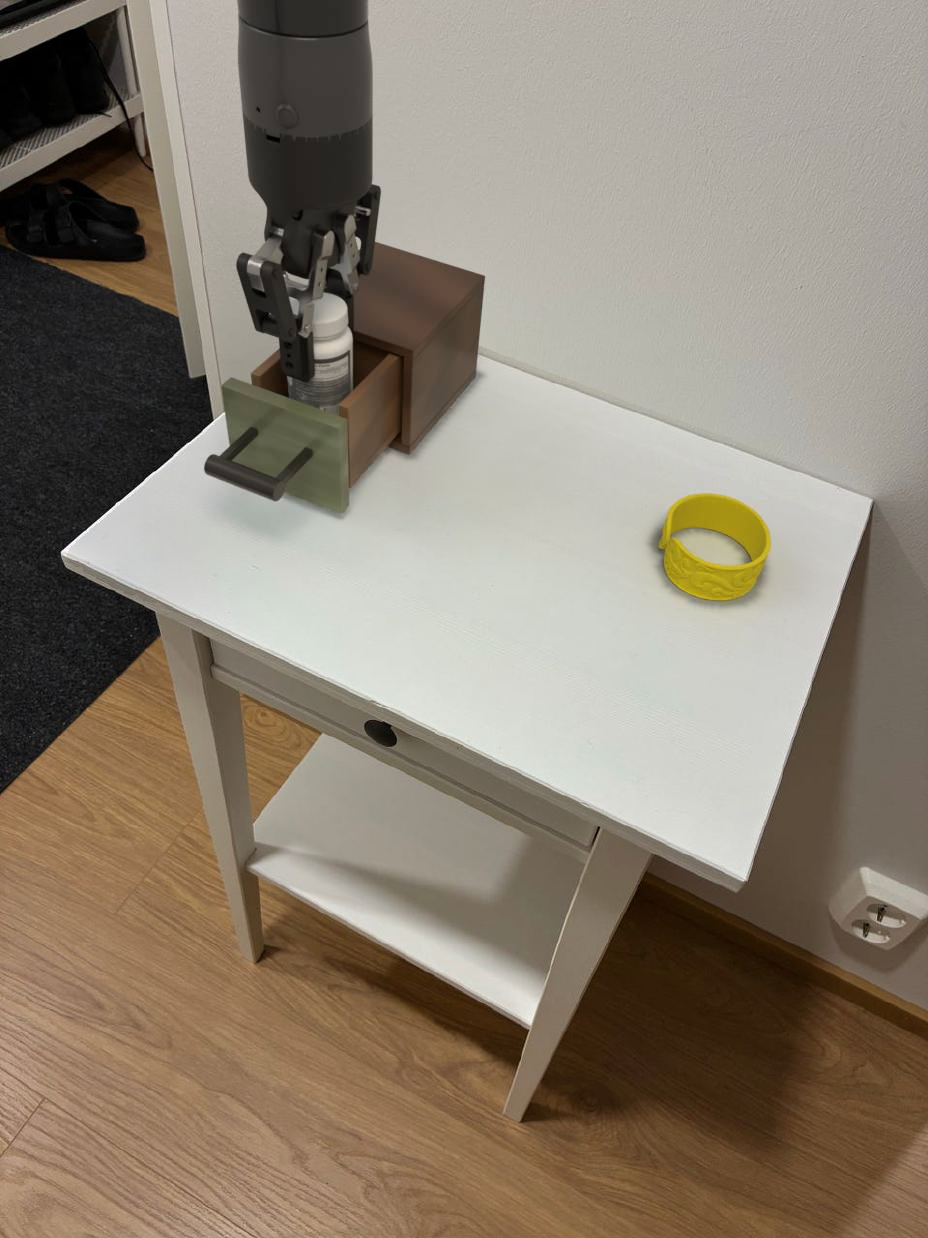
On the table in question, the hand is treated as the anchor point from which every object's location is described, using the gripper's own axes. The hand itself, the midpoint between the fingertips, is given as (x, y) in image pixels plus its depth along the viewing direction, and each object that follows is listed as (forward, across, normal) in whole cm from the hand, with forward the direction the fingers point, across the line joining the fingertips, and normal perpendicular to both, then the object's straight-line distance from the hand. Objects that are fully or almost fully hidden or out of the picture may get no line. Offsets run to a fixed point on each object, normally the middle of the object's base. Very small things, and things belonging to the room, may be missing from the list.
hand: (318, 357), depth 68 cm
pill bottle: (+5, 0, 0) cm, 5 cm away
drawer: (+9, +2, 0) cm, 9 cm away
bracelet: (+10, -5, +30) cm, 32 cm away
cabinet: (+10, -11, 0) cm, 14 cm away
